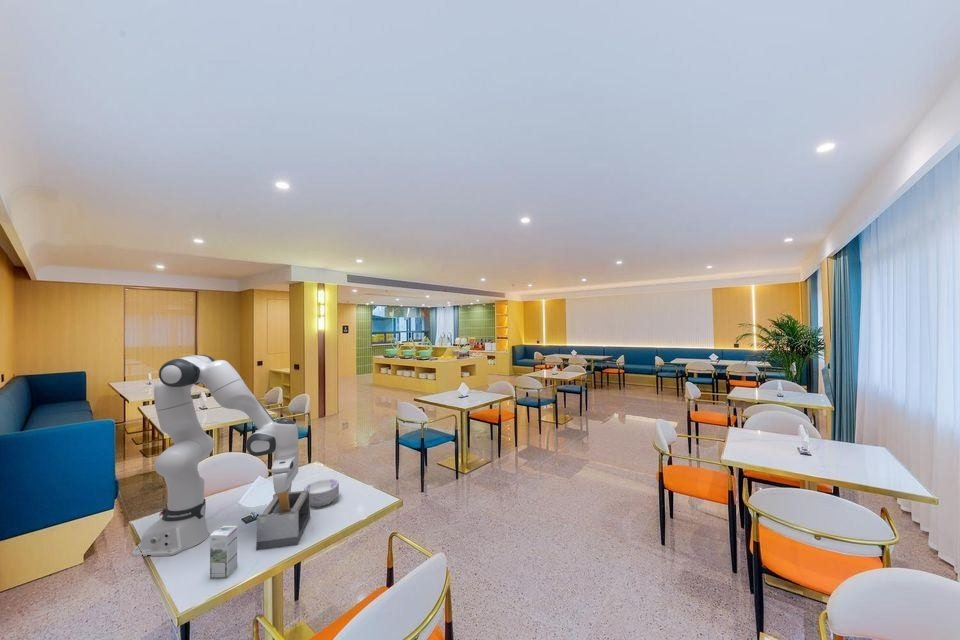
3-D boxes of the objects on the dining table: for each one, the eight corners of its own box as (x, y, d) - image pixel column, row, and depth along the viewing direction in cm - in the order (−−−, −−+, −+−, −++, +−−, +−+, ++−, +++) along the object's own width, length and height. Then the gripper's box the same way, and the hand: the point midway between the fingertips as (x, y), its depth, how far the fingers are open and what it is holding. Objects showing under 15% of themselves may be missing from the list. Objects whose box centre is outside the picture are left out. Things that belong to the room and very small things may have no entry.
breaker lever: (290, 513, 144) (288, 493, 141) (278, 515, 143) (275, 494, 140) (292, 508, 146) (289, 488, 143) (280, 510, 145) (277, 489, 142)
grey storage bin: (297, 545, 136) (297, 513, 136) (256, 550, 133) (256, 517, 133) (309, 517, 156) (310, 490, 156) (274, 521, 152) (274, 493, 153)
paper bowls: (299, 501, 170) (299, 484, 170) (332, 491, 180) (332, 475, 180) (309, 514, 159) (309, 496, 159) (343, 502, 169) (343, 485, 169)
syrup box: (238, 566, 124) (238, 524, 124) (226, 578, 118) (227, 534, 118) (221, 567, 124) (221, 524, 124) (208, 579, 118) (209, 534, 118)
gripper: (285, 452, 154) (286, 484, 154) (269, 470, 134) (270, 508, 134) (301, 450, 155) (302, 482, 155) (288, 468, 135) (289, 505, 135)
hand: (287, 494), depth 144 cm, fingers closed
